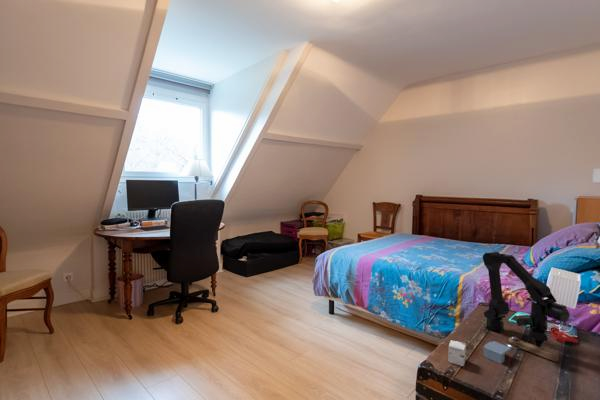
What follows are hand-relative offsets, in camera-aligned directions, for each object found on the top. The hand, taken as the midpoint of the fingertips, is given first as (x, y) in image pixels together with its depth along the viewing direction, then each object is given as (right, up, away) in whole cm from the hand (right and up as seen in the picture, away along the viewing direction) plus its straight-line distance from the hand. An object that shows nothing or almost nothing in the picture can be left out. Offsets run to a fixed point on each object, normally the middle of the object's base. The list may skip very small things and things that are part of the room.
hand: (538, 346), depth 140 cm
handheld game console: (+15, 0, +30) cm, 34 cm away
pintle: (-8, -1, +4) cm, 9 cm away
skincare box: (-40, -3, -7) cm, 40 cm away
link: (-4, -1, -1) cm, 4 cm away
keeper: (-21, -2, -4) cm, 22 cm away
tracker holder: (+20, -1, +10) cm, 22 cm away
